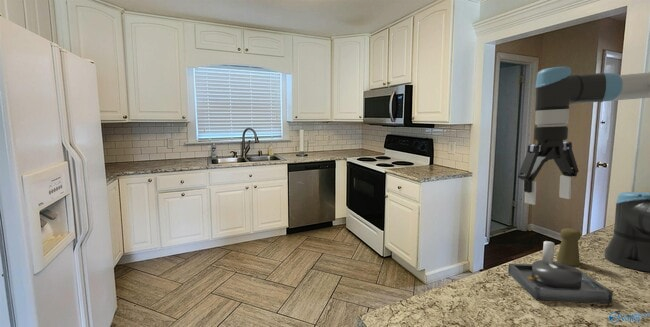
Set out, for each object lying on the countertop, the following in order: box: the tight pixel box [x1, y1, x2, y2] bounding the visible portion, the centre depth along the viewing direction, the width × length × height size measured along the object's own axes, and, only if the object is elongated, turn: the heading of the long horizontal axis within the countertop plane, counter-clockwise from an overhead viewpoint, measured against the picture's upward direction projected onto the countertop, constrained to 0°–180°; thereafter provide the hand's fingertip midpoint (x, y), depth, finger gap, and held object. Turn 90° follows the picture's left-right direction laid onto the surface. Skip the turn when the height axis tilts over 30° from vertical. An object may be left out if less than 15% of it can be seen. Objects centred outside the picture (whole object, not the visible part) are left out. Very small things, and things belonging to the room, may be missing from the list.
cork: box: [556, 227, 582, 267], centre depth 102 cm, size 6×6×11 cm
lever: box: [532, 240, 582, 289], centre depth 86 cm, size 11×11×9 cm
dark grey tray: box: [507, 263, 614, 304], centre depth 87 cm, size 18×15×3 cm
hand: (547, 200), depth 88 cm, fingers open, 13 cm apart
